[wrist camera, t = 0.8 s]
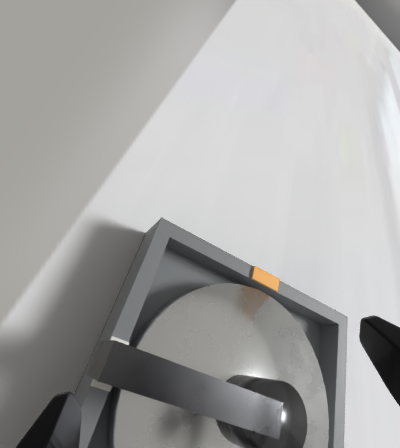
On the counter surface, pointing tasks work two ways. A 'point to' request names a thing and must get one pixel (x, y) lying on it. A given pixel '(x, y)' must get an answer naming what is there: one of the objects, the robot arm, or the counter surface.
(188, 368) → the dial
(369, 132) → the counter surface
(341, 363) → the dial base
